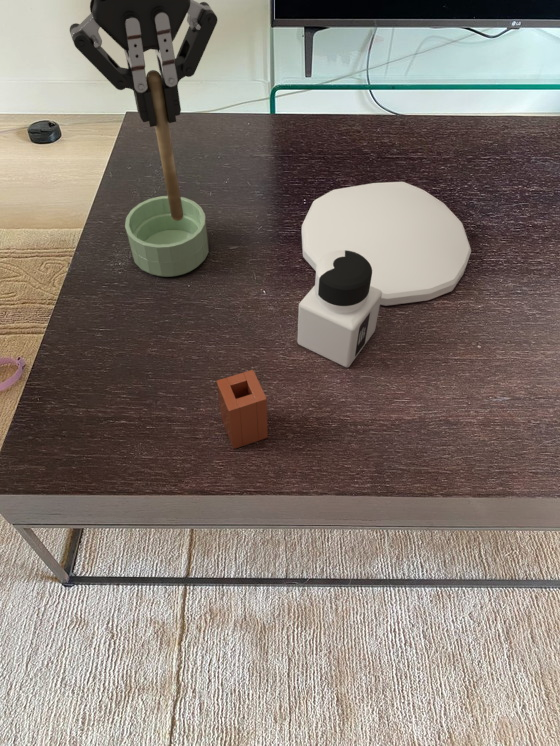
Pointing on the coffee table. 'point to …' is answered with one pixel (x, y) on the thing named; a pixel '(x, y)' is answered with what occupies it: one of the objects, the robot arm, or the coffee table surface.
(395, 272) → the decorative plate
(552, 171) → the coffee table surface
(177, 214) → the cooking stick
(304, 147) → the coffee table surface
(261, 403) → the utensil block
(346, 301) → the container
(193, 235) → the bowl
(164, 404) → the coffee table surface
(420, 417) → the coffee table surface
